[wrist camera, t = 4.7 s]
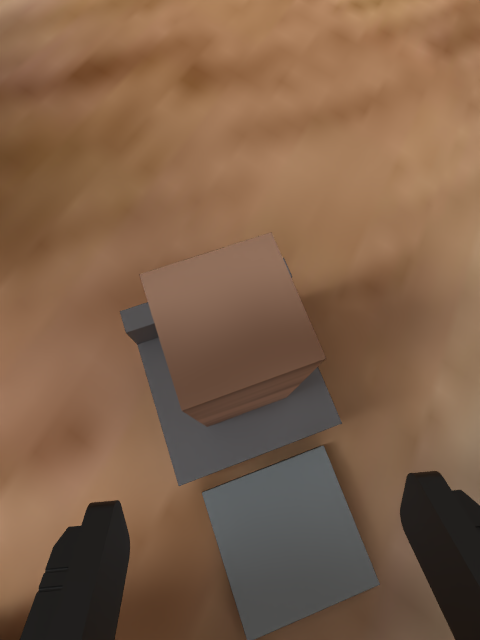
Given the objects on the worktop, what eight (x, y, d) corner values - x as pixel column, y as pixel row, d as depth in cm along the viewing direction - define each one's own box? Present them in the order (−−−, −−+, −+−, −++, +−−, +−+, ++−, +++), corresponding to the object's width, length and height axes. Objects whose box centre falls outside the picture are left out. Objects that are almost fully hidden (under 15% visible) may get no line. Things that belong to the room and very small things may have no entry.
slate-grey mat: (202, 491, 25) (202, 492, 24) (321, 445, 25) (323, 445, 25) (247, 637, 22) (247, 642, 22) (376, 581, 23) (379, 584, 23)
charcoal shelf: (150, 346, 27) (119, 311, 20) (272, 304, 28) (283, 257, 21) (190, 478, 25) (171, 491, 18) (322, 427, 26) (354, 420, 19)
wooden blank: (181, 348, 22) (139, 274, 13) (257, 322, 23) (271, 232, 13) (207, 426, 21) (181, 410, 11) (286, 397, 21) (326, 358, 12)
